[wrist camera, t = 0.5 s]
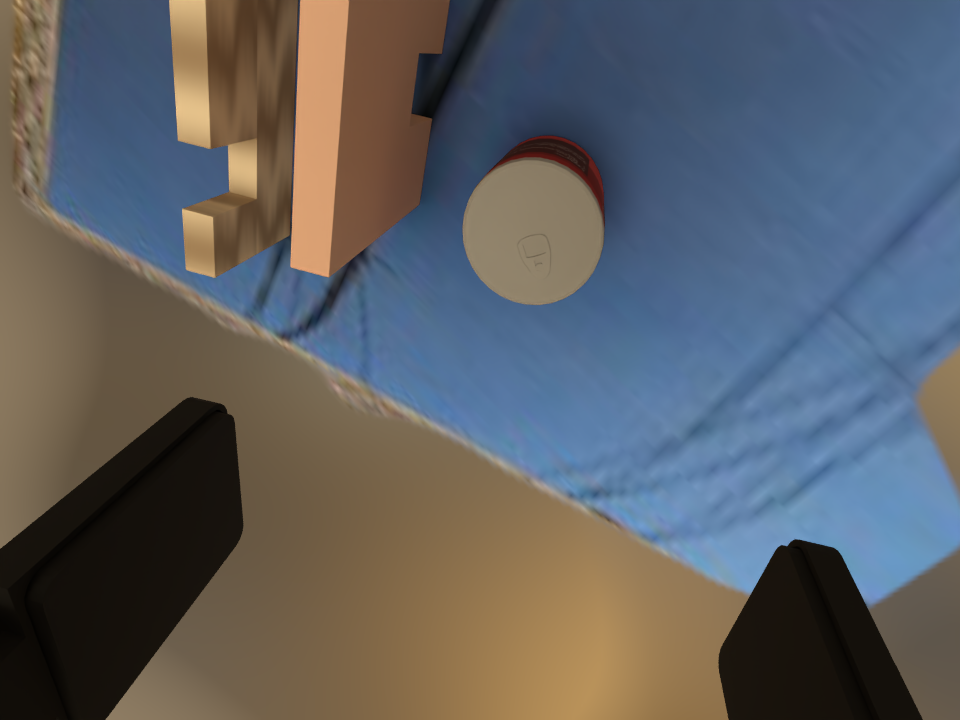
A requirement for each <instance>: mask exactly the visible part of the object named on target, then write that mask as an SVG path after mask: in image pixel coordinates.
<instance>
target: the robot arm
mask: <svg viewBox="0 0 960 720" xmlns="http://www.w3.org/2000/svg"><path fill="white" fill-rule="evenodd" d="M238 468H239V467H238V456H237V444H236V432H235V422H234V418H233V416H232V415H229V414H227V409H226V408H225V406H224V405H222V404H219V403H215V402H211V401H206V400H202V399H198V398H193V397H190V398H187V399H185V400H183V401H182V402H181V403H179V404H178V405H177V406H176V407H175V408H173V409H172V410H171V411H170V412H168V413H167V414H166V415H165V416H163V417H162V418H161V419H160V420H159V421H158V422H156V423H155V424H154V425H152V426H151V427H150V428H149V429H148V430H146V431H145V432H144V433H143V434H141V435H140V436H139V437H138V438H136V439H135V440H134V441H133V442H131V443H130V444H129V445H128V446H127V447H125V448H124V449H123V450H122V451H120V452H119V453H118V454H117V455H115V456H114V457H113V458H112V459H111V460H109V461H108V462H107V463H106V464H104V465H103V466H102V467H101V468H99V469H98V470H97V471H96V472H94V473H93V474H92V475H91V476H90V477H88V478H87V479H86V480H85V481H83V482H82V483H81V484H80V485H78V486H77V487H76V488H75V489H74V490H72V491H71V492H70V493H69V494H67V495H66V496H65V497H64V498H63V499H61V500H60V501H59V502H58V503H56V504H55V505H54V506H53V507H51V508H50V509H49V510H48V511H46V512H45V513H44V514H43V515H42V516H40V517H39V518H38V519H37V520H35V521H34V522H33V523H32V524H30V525H29V526H28V527H27V528H26V529H24V530H23V531H22V532H21V533H20V534H18V535H17V536H16V537H14V538H13V539H12V540H11V541H10V542H8V543H7V544H6V545H5V546H3V547H2V548H1V549H0V720H105V719H106V718H107V717H108V716H109V714H110V713H111V712H112V710H113V709H114V708H115V706H116V705H117V704H118V702H119V701H120V700H121V698H122V697H123V696H124V694H125V693H126V692H127V690H128V689H129V688H130V686H131V685H132V684H133V682H134V681H135V680H136V678H137V677H138V676H139V674H140V673H141V672H142V670H143V669H144V668H145V666H146V665H147V664H148V662H149V661H150V660H151V658H152V657H153V656H154V654H155V653H156V652H157V650H158V649H159V647H160V646H161V645H162V644H163V642H164V641H165V640H166V638H167V637H168V636H169V634H170V633H171V632H172V630H173V629H174V628H175V626H176V625H177V624H178V622H179V621H180V620H181V618H182V617H183V616H184V614H185V613H186V612H187V610H188V609H189V608H190V606H191V605H192V604H193V603H194V601H195V600H196V599H197V597H198V596H199V594H200V593H201V592H202V590H203V589H204V588H205V586H206V585H207V584H208V583H209V581H210V580H211V578H212V577H213V576H214V574H215V573H216V572H217V570H218V569H219V568H220V566H221V565H222V564H223V562H224V561H225V560H226V559H227V557H228V556H229V554H230V553H231V552H232V551H233V549H234V548H235V547H236V545H237V543H238V541H239V540H240V537H241V534H242V531H243V514H242V503H241V491H240V479H239V469H238ZM719 673H720V678H721V683H722V688H723V693H724V698H725V703H726V708H727V713H728V718H729V720H923V719H922V717H921V715H920V713H919V711H918V709H917V707H916V705H915V703H914V701H913V699H912V697H911V695H910V693H909V691H908V689H907V687H906V685H905V683H904V681H903V679H902V677H901V675H900V672H899V670H898V668H897V666H896V665H895V663H894V661H893V659H892V657H891V655H890V653H889V651H888V649H887V647H886V645H885V643H884V641H883V639H882V637H881V635H880V633H879V631H878V629H877V627H876V624H875V622H874V620H873V618H872V616H871V614H870V612H869V610H868V608H867V606H866V604H865V602H864V600H863V598H862V596H861V594H860V592H859V590H858V588H857V586H856V584H855V582H854V580H853V578H852V576H851V574H850V572H849V570H848V568H847V566H846V564H845V562H844V560H843V558H842V556H841V554H840V553H839V551H838V550H836V549H835V548H833V547H828V546H824V545H820V544H816V543H811V542H807V541H803V540H796V539H795V540H793V541H791V542H790V543H789V545H788V546H784V545H781V546H779V547H778V548H777V549H776V551H775V552H774V554H773V556H772V558H771V559H770V561H769V563H768V565H767V567H766V568H765V570H764V572H763V574H762V576H761V577H760V579H759V581H758V583H757V584H756V586H755V588H754V590H753V592H752V593H751V595H750V597H749V599H748V601H747V602H746V604H745V606H744V608H743V609H742V611H741V613H740V615H739V616H738V618H737V620H736V622H735V624H734V625H733V627H732V629H731V631H730V632H729V634H728V636H727V638H726V640H725V641H724V643H723V645H722V647H721V649H720V653H719Z"/></svg>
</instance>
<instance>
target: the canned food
mask: <svg viewBox="0 0 960 720" xmlns="http://www.w3.org/2000/svg"><path fill="white" fill-rule="evenodd" d="M604 228H605V217H604V192H603V184H602V179H601V176H600V173H599V170H598V168H597V166H596V165H595V163H594V161H593V160H592V158H591V157H590V156H589V155H588V154H587V153H586V151H585V150H584V149H582V148H581V147H580V146H578V145H577V144H575V143H574V142H571V141H569V140H567V139H565V138H561V137H556V136H539V137H534V138H530V139H528V140H526V141H524V142H522V143H520V144H518V145H517V146H516V147H514V148H513V149H512V150H511V151H510V152H508V153H507V154H506V155H505V156H504V157H503V158H502V159H501V160H500V161H499V162H498V163H497V164H496V165H495V166H494V167H493V168H492V169H491V170H490V171H489V172H488V173H487V174H486V175H485V176H484V178H483V179H482V180H481V181H480V182H479V184H478V185H477V186H476V188H475V189H474V191H473V193H472V195H471V196H470V198H469V201H468V204H467V207H466V210H465V213H464V220H463V242H464V246H465V250H466V254H467V257H468V259H469V261H470V263H471V265H472V268H473V269H474V271H475V272H476V273H477V275H478V276H479V278H480V279H481V280H482V281H483V282H484V283H485V284H486V285H487V286H488V287H489V288H490V289H492V290H493V291H494V292H496V293H497V294H499V295H500V296H502V297H504V298H507V299H509V300H511V301H514V302H518V303H522V304H530V305H541V304H548V303H553V302H556V301H559V300H562V299H564V298H566V297H567V296H569V295H571V294H573V293H574V292H576V291H577V290H578V289H579V288H580V287H581V286H582V285H583V284H585V282H586V281H587V280H588V278H589V277H590V276H591V274H592V273H593V271H594V269H595V267H596V265H597V263H598V261H599V258H600V256H601V252H602V248H603V244H604Z"/></svg>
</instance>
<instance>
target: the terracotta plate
mask: <svg viewBox="0 0 960 720" xmlns="http://www.w3.org/2000/svg"><path fill="white" fill-rule="evenodd" d="M449 3H450V0H300V24H299V51H298V78H297V106H296V133H295V160H294V188H293V215H292V242H291V267H292V268H296V269H299V270H303V271H307V272H310V273H314V274H318V275H321V276H325V277H330V276H331V275H332V274H334V273H335V272H336V271H337V270H339V269H340V268H341V267H342V266H344V265H345V264H346V263H347V262H349V261H350V260H351V259H352V258H354V257H355V256H356V255H357V254H359V253H360V252H361V251H362V250H364V249H365V248H366V247H367V246H369V245H370V244H371V243H372V242H373V241H375V240H376V239H377V238H378V237H380V236H381V235H382V234H383V233H385V232H386V231H387V230H388V229H390V228H391V227H392V226H393V225H395V224H396V223H397V222H398V221H400V220H401V219H402V218H403V217H405V216H406V215H407V214H408V213H410V212H411V211H412V210H413V209H415V208H416V207H417V206H418V205H419V204H420V197H421V190H422V184H423V177H424V170H425V164H426V157H427V150H428V143H429V137H430V130H431V123H432V119H431V118H427V117H423V116H419V115H415V114H411V111H412V104H413V96H414V88H415V81H416V73H417V66H418V58H419V53H432V54H442V50H443V43H444V36H445V30H446V23H447V16H448V10H449Z"/></svg>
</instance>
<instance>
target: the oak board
mask: <svg viewBox="0 0 960 720" xmlns="http://www.w3.org/2000/svg"><path fill="white" fill-rule="evenodd" d="M169 3H170V19H171V35H172V51H173V67H174V83H175V99H176V115H177V132H178V141H182V142H186V143H189V144H193V145H197V146H201V147H205V148H209V149H213V148H217V147H221V146H226V145H228V152H229V192H228V193H225V194H222V195H220V196H217V197H214V198H211V199H208V200H206V201H203V202H200V203H197V204H194V205H192V206H189V207H186V208H183V209H182V212H183V228H184V244H185V260H186V270H189V271H192V272H196V273H200V274H203V275H207V276H211V277H214V278H215V277H217V276H219V275H221V274H223V273H224V272H226V271H228V270H230V269H231V268H233V267H235V266H237V265H238V264H240V263H242V262H244V261H245V260H247V259H249V258H251V257H252V256H254V255H256V254H258V253H260V252H261V251H263V250H265V249H267V248H268V247H270V246H272V245H274V244H275V243H277V242H279V241H281V240H282V239H284V238H286V237H288V236H289V235H290V214H291V186H292V157H293V128H294V99H295V71H296V42H297V13H298V0H169Z"/></svg>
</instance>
